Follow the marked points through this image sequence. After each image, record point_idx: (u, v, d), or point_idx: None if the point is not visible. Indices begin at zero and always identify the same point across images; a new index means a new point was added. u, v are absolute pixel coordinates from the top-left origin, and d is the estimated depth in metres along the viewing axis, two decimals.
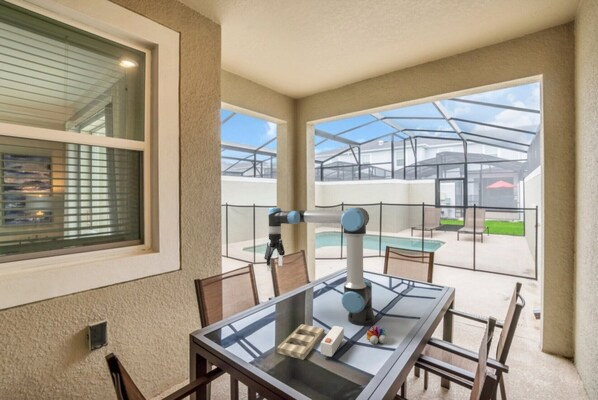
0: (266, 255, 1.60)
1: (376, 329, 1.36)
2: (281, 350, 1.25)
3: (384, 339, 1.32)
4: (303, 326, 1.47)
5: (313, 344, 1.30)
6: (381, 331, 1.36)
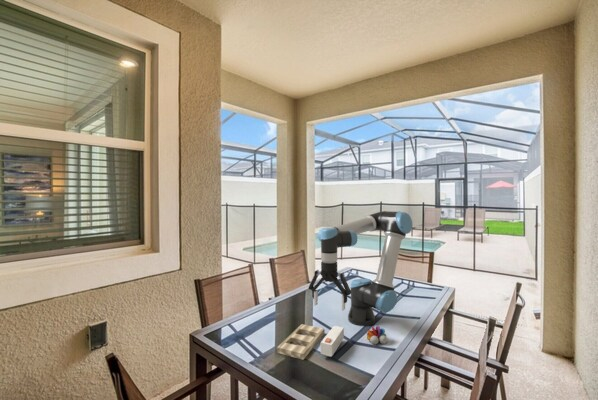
0: None
1: (376, 329, 1.36)
2: (281, 350, 1.25)
3: (384, 339, 1.32)
4: (303, 326, 1.47)
5: (313, 344, 1.30)
6: (381, 331, 1.35)
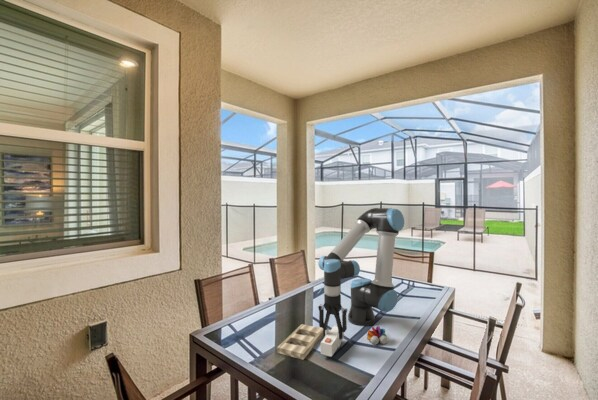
0: None
1: (377, 329, 1.36)
2: (281, 350, 1.25)
3: (385, 339, 1.32)
4: (303, 326, 1.47)
5: (313, 344, 1.30)
6: (382, 331, 1.35)
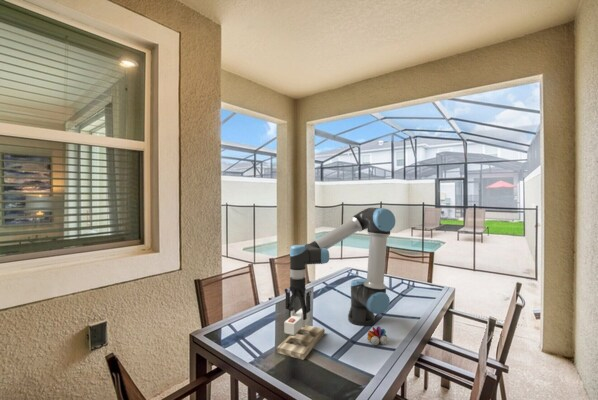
0: None
1: (377, 330, 1.36)
2: (281, 350, 1.25)
3: (385, 340, 1.32)
4: None
5: (313, 344, 1.30)
6: (382, 332, 1.35)
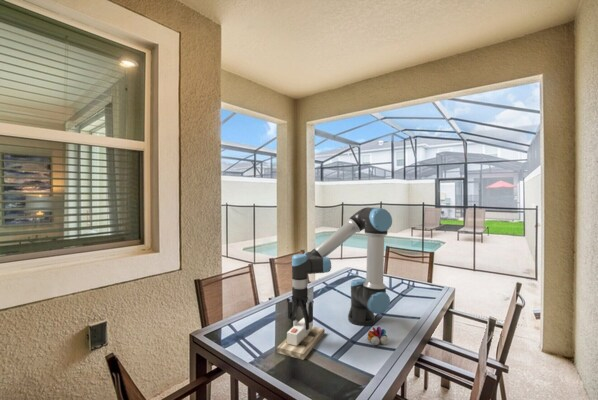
0: None
1: (377, 330, 1.36)
2: (281, 350, 1.25)
3: (385, 340, 1.31)
4: None
5: (313, 344, 1.30)
6: (382, 332, 1.35)
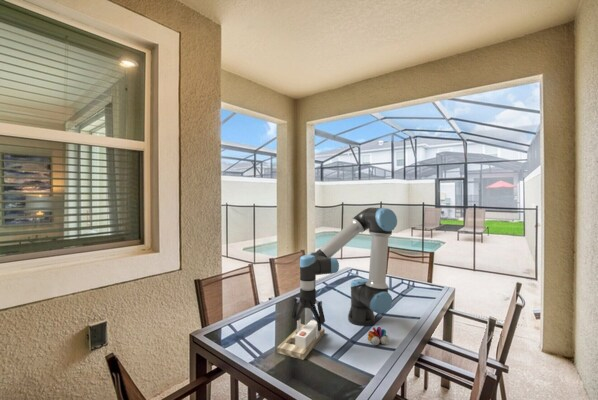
0: None
1: (377, 330, 1.36)
2: (281, 350, 1.25)
3: (386, 340, 1.31)
4: (303, 326, 1.47)
5: (313, 344, 1.30)
6: (383, 332, 1.35)
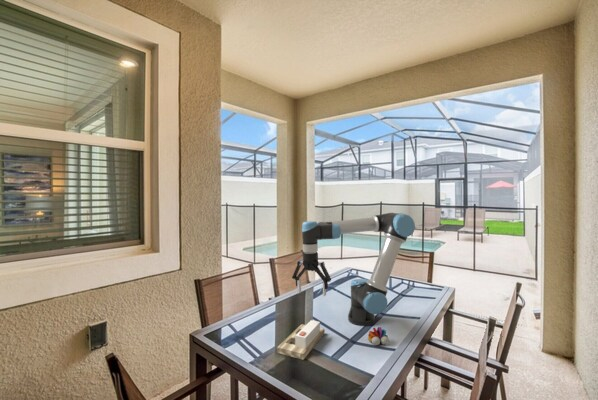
0: None
1: (378, 330, 1.35)
2: (281, 350, 1.25)
3: (386, 340, 1.31)
4: (303, 326, 1.47)
5: (313, 344, 1.30)
6: (383, 332, 1.34)
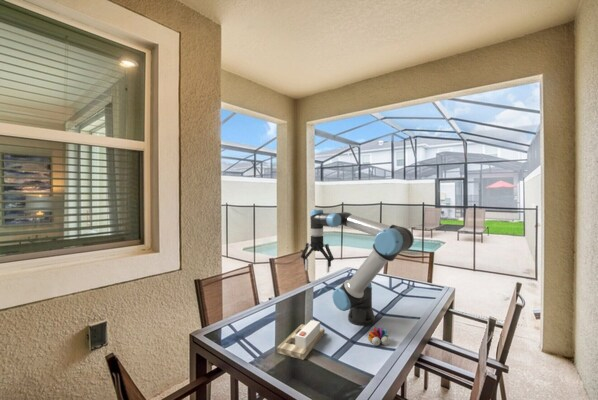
0: None
1: (378, 330, 1.35)
2: (281, 350, 1.25)
3: (386, 340, 1.31)
4: (303, 326, 1.47)
5: (313, 344, 1.30)
6: (383, 332, 1.34)
